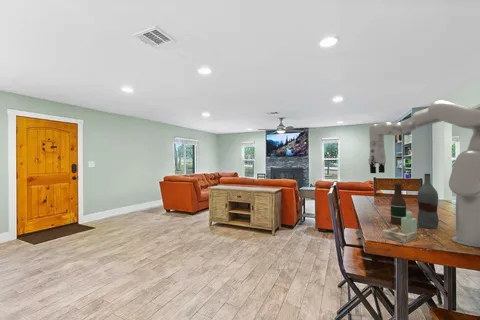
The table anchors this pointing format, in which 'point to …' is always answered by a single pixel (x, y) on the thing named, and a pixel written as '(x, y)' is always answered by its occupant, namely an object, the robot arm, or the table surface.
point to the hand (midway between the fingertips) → (377, 173)
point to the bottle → (408, 223)
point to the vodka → (427, 205)
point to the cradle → (399, 235)
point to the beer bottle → (397, 206)
